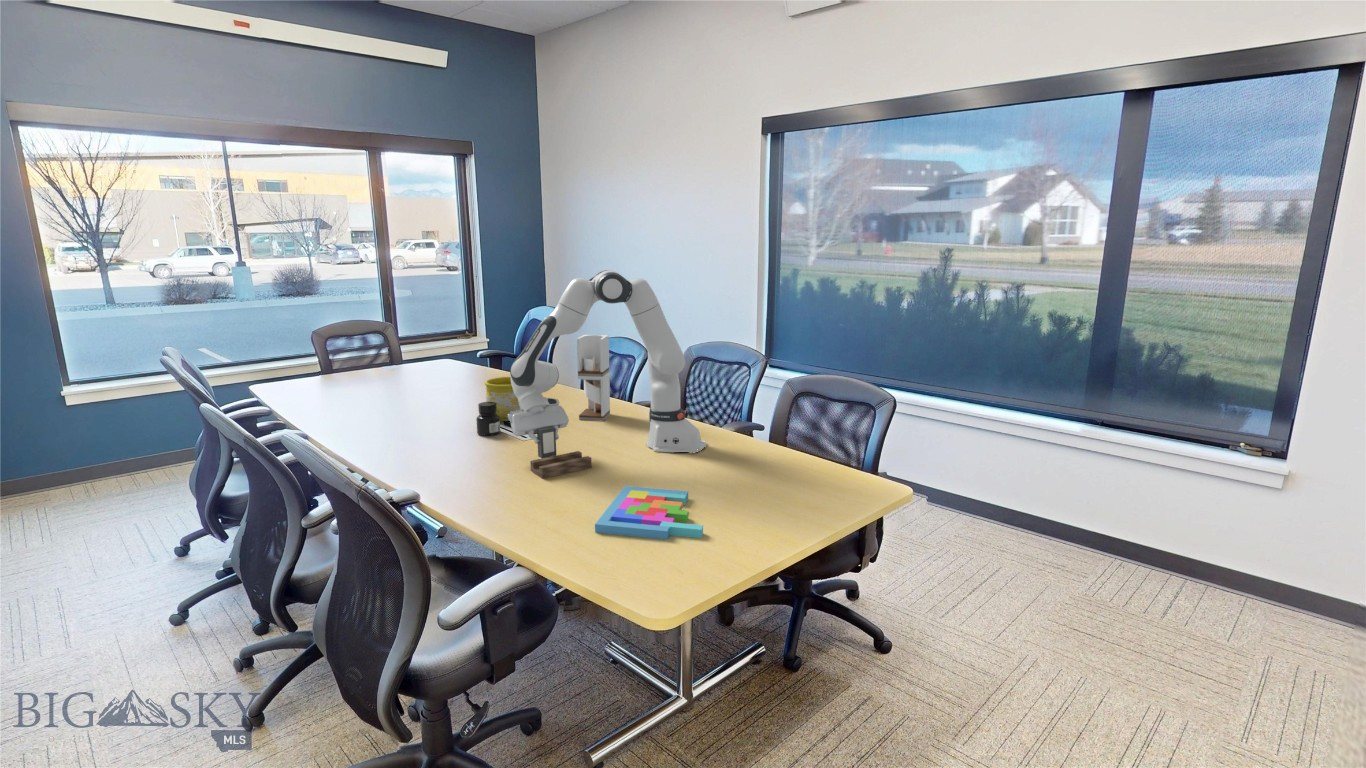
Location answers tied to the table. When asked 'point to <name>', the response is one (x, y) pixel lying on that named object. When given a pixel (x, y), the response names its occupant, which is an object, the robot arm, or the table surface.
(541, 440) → the dark grey rectangular block
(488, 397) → the flowerpot
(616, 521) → the tetris game
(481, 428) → the ink bottle
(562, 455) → the display ledge
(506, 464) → the table surface
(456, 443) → the table surface
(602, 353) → the rack with curved panels
